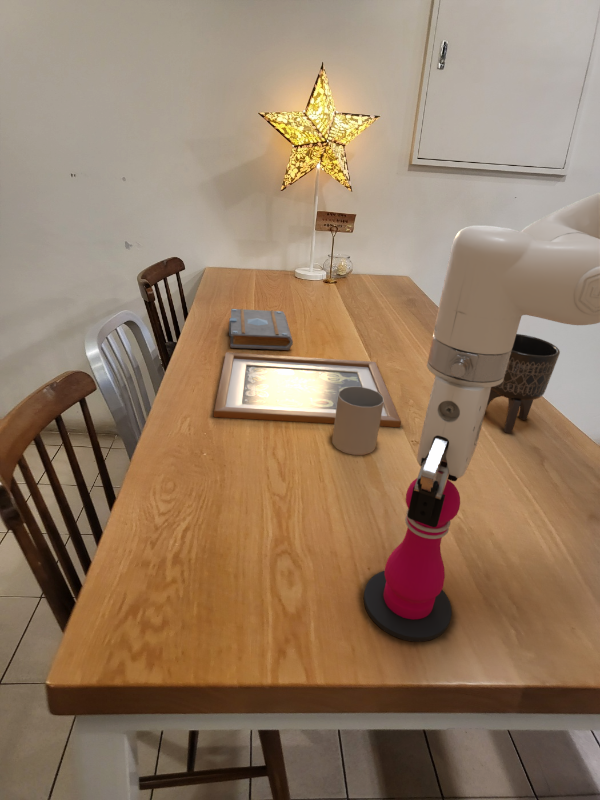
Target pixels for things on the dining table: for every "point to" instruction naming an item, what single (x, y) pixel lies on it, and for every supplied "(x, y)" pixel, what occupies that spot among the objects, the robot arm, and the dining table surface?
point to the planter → (525, 376)
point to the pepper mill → (419, 560)
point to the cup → (357, 420)
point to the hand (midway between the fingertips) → (433, 497)
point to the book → (259, 329)
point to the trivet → (403, 626)
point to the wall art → (294, 388)
